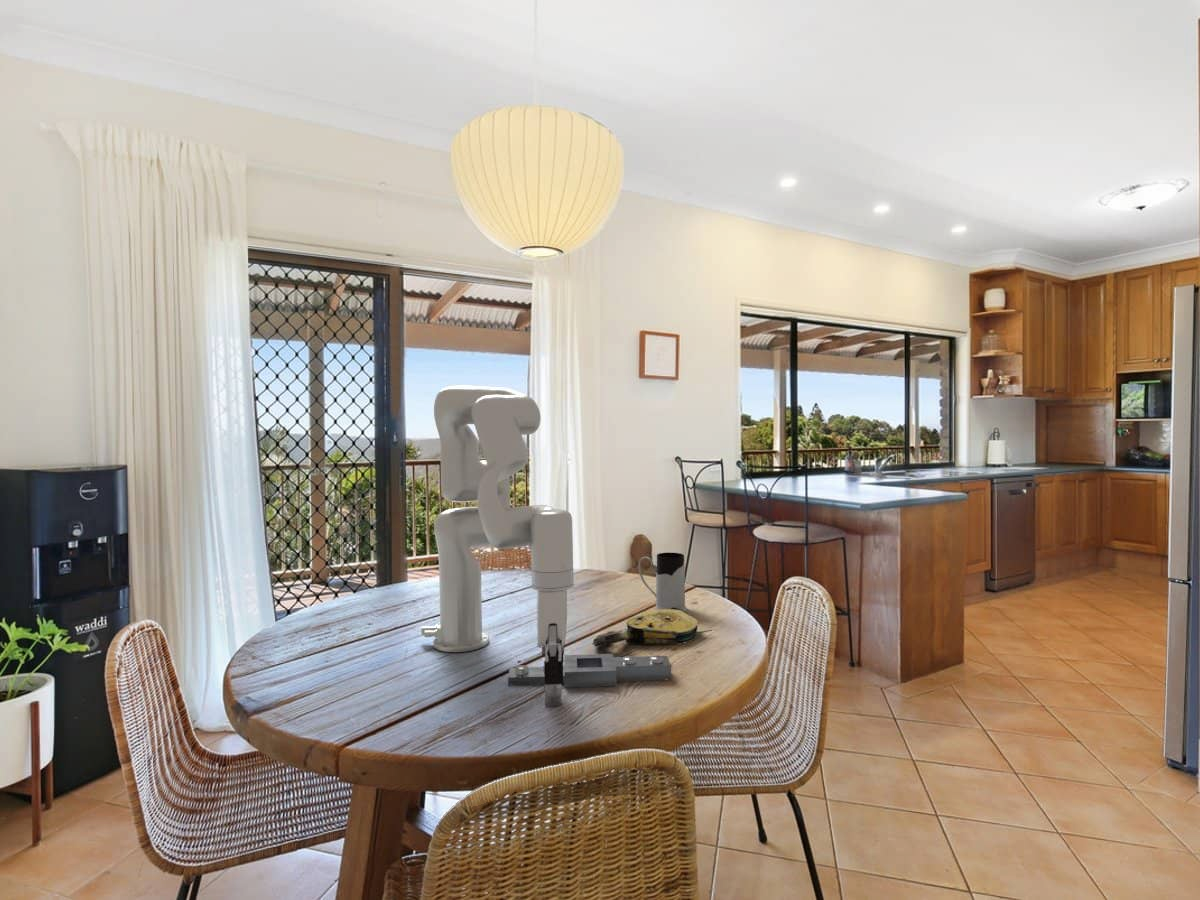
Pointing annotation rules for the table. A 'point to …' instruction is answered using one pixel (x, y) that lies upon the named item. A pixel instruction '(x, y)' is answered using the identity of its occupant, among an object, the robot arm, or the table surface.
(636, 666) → the chain end right
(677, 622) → the pulley block
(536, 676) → the chain end left
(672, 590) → the grey black mug
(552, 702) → the steel pin
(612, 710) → the table surface
